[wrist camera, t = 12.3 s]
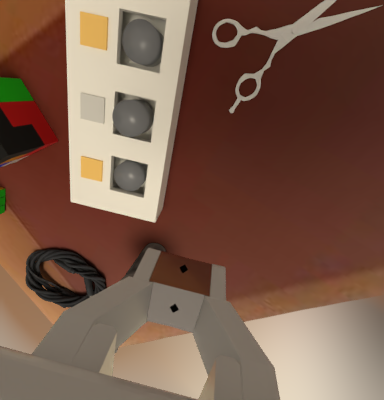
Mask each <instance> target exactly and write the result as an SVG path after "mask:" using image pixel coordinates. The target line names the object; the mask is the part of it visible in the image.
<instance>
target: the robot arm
mask: <svg viewBox="0 0 384 400" xmlns="http://www.w3.org/2000/svg"><path fill="white" fill-rule="evenodd" d="M146 321H150V322H154V323H158V324H163V325H167V326H171V327H174V328H178V329H181V330H185V331H188V332H192V333H193V336H194V339H195V341H196V344H197V347H198V349H199V352H200V355H201V358H202V360H203V363H204V366H205V369H206V371H207V374H208V378H207V381H206V383H205V385H204V388H203V390H202V393H201V395H200V397H199V399H194V398H191V397H187V396H183V395H179V394H176V393H172V392H168V391H165V390H161V389H157V388H153V387H149V386H146V385H142V384H139V383H135V382H131V381H127V380H124V379H120V378H116V377H113V376H112V373H113V364H114V354H115V350H116V349H117V348H118V347H119V346H120V345H121V344H122V343H124V342H125V341H126V340H127V339H128V338H129V337H130V336H131V335H132V334H133V333H135V332H136V331H137V330H138V329H139V328H140V327H141V326H142V325H143V324H144V323H146ZM0 400H280V397H279V391H278V386H277V380H276V375H275V369H274V367H273V365H272V364H271V362H270V361H269V359H268V358H267V356H266V355H265V354H264V352H263V350H262V349H261V347H260V346H259V345H258V343H257V342H256V340H255V339H254V337H253V336H252V334H251V333H250V331H249V330H248V328H247V327H246V325H245V324H244V322H243V321H242V319H241V318H240V316H239V315H238V313H237V312H236V310H235V309H234V308H233V306H232V305H231V303H230V302H227V301H226V269H225V267H224V266H219V265H215V264H209V263H205V262H201V261H197V260H193V259H189V258H185V257H182V256H178V255H174V254H171V253H167V252H164V251H159V250H156V249H152V248H148V249H147V250H146V252H145V254H144V256H143V258H142V260H141V262H140V264H139V266H138V268H137V270H136V272H135V274H134V276H133V277H130V276H128V277H127V278H125V279H123V280H121V281H119V282H117V283H116V284H114V285H112V286H110V287H108V288H106V289H104V290H103V291H101V292H99V293H97V294H95V295H93V296H92V297H90V298H88V299H86V300H84V301H82V302H81V303H79V304H77V305H75V306H73V307H71V308H69V309H68V310H66V311H64V312H63V313H62V314H61V316H60V317H59V318H58V320H57V321H56V322H55V324H54V325H53V327H52V328H51V329H50V331H49V332H48V333H47V335H46V336H45V337H44V339H43V340H42V341H41V343H40V344H39V345H38V347H37V348H36V349H35V351H34V352H33V353H32V355H31V354H27V353H23V352H20V351H16V350H12V349H9V348H5V347H1V346H0Z"/></svg>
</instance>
